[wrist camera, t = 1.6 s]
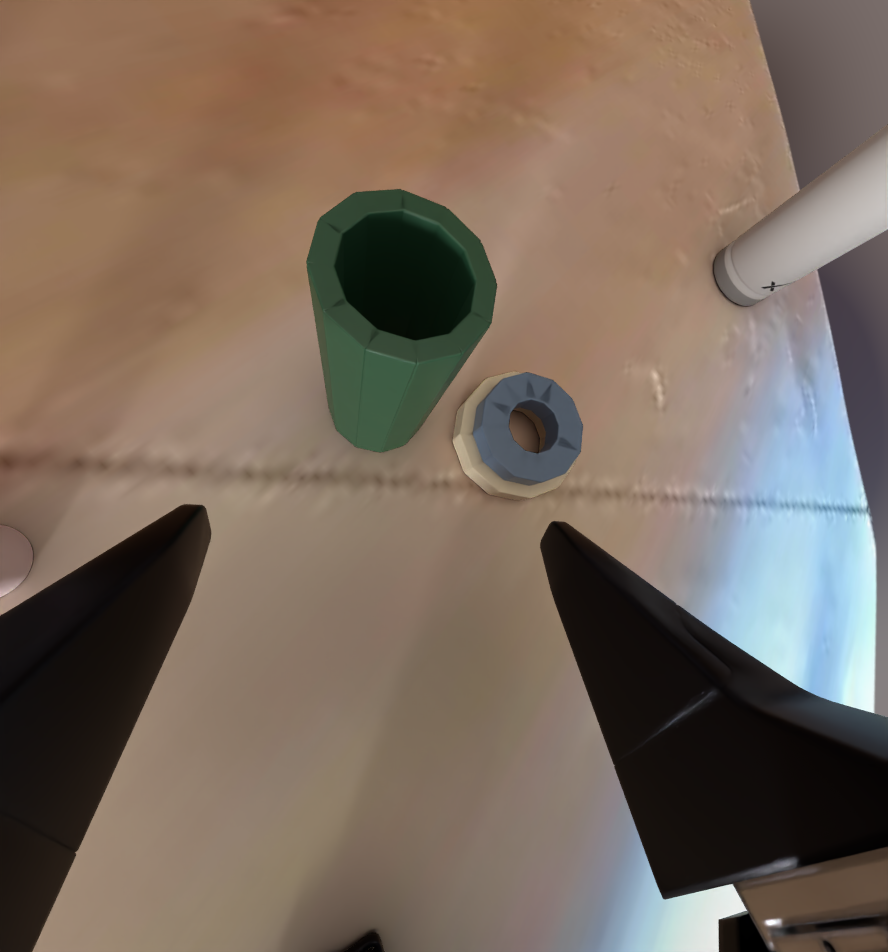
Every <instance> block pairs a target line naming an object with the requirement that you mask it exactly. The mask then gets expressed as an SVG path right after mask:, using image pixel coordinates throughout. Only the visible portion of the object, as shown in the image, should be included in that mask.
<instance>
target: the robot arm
mask: <svg viewBox="0 0 888 952" xmlns="http://www.w3.org/2000/svg"><path fill="white" fill-rule="evenodd" d="M210 540H211V528H210V523H209V519H208V515H207V510H206V508H205V507H204V506H203V505H192V504H184V505H181V506H179V507H178V508H176V509H174V510H173V511H171V512H170V513H168V514H166V515H165V516H163V517H161V518H160V519H158V520H156V521H155V522H153V523H152V524H150V525H148V526H147V527H145V528H143V529H142V530H140V531H138V532H137V533H135V534H134V535H132V536H130V537H129V538H127V539H125V540H124V541H122V542H120V543H119V544H117V545H116V546H114V547H112V548H111V549H109V550H107V551H106V552H104V553H102V554H101V555H99V556H98V557H96V558H94V559H93V560H91V561H89V562H88V563H86V564H84V565H83V566H81V567H80V568H78V569H76V570H75V571H73V572H71V573H70V574H68V575H66V576H65V577H63V578H62V579H60V580H58V581H57V582H55V583H53V584H52V585H50V586H48V587H47V588H45V589H44V590H42V591H40V592H39V593H37V594H35V595H34V596H32V597H30V598H29V599H27V600H26V601H24V602H22V603H21V604H19V605H17V606H16V607H14V608H12V609H11V610H9V611H8V612H6V613H4V614H3V615H1V616H0V952H32V951H33V949H34V947H35V944H36V942H37V940H38V938H39V936H40V933H41V931H42V929H43V927H44V925H45V922H46V920H47V918H48V916H49V914H50V911H51V909H52V907H53V905H54V903H55V900H56V898H57V896H58V894H59V892H60V889H61V887H62V885H63V883H64V881H65V878H66V876H67V874H68V872H69V870H70V867H71V865H72V863H73V861H74V859H75V856H76V853H75V852H76V851H77V850H78V849H79V847H80V845H81V843H82V840H83V838H84V836H85V834H86V832H87V829H88V827H89V825H90V823H91V821H92V818H93V816H94V814H95V812H96V810H97V807H98V805H99V803H100V801H101V799H102V796H103V794H104V792H105V790H106V788H107V785H108V783H109V781H110V779H111V777H112V774H113V772H114V770H115V768H116V766H117V763H118V761H119V759H120V757H121V755H122V752H123V750H124V748H125V746H126V744H127V741H128V739H129V737H130V735H131V733H132V730H133V728H134V726H135V724H136V722H137V719H138V717H139V715H140V713H141V711H142V708H143V706H144V704H145V702H146V700H147V697H148V695H149V693H150V691H151V689H152V686H153V684H154V682H155V680H156V678H157V675H158V673H159V671H160V669H161V667H162V664H163V662H164V660H165V658H166V656H167V653H168V651H169V649H170V647H171V645H172V642H173V640H174V638H175V636H176V634H177V631H178V629H179V627H180V625H181V623H182V620H183V618H184V616H185V614H186V612H187V609H188V607H189V605H190V602H191V600H192V597H193V594H194V591H195V588H196V585H197V582H198V578H199V575H200V572H201V569H202V566H203V562H204V559H205V556H206V553H207V550H208V546H209V543H210ZM540 548H541V552H542V556H543V560H544V564H545V568H546V572H547V576H548V580H549V584H550V588H551V592H552V595H553V598H554V601H555V604H556V607H557V610H558V612H559V615H560V618H561V621H562V623H563V626H564V629H565V632H566V634H567V637H568V640H569V643H570V646H571V648H572V651H573V654H574V657H575V659H576V662H577V665H578V668H579V670H580V673H581V676H582V679H583V681H584V684H585V687H586V690H587V692H588V695H589V698H590V701H591V703H592V706H593V709H594V712H595V714H596V717H597V720H598V723H599V725H600V728H601V731H602V734H603V737H604V739H605V742H606V745H607V748H608V750H609V753H610V756H611V759H612V761H613V764H614V765H615V766H614V767H615V770H616V773H617V776H618V778H619V781H620V784H621V787H622V789H623V792H624V795H625V798H626V800H627V803H628V806H629V809H630V811H631V814H632V817H633V820H634V822H635V825H636V828H637V831H638V834H639V836H640V839H641V842H642V845H643V847H644V850H645V853H646V856H647V858H648V861H649V864H650V867H651V869H652V872H653V875H654V878H655V880H656V883H657V886H658V888H659V891H660V893H661V895H662V897H663V899H669V898H673V897H678V896H682V895H686V894H690V893H695V892H699V891H703V890H707V889H712V888H716V887H720V886H724V885H729V884H733V886H734V887H735V889H736V891H737V893H738V895H739V897H740V898H741V900H742V902H743V904H744V906H745V908H746V910H747V911H744V912H741V913H738V914H735V915H732V916H729V917H726V918H723V919H719V952H888V717H885V716H881V715H878V714H874V713H871V712H867V711H864V710H860V709H857V708H853V707H849V706H846V705H842V704H839V703H836V702H832V701H829V700H827V699H824V698H821V697H819V696H816V695H814V694H812V693H810V692H808V691H806V690H804V689H802V688H800V687H798V686H797V685H795V684H793V683H792V682H790V681H789V680H787V679H786V678H784V677H783V676H781V675H780V674H778V673H776V672H775V671H773V670H772V669H770V668H769V667H767V666H766V665H764V664H763V663H761V662H760V661H758V660H757V659H755V658H754V657H752V656H751V655H749V654H748V653H746V652H745V651H743V650H742V649H740V648H739V647H737V646H736V645H734V644H733V643H731V642H730V641H728V640H727V639H725V638H724V637H722V636H721V635H720V634H718V633H717V632H715V631H714V630H712V629H711V628H709V627H708V626H707V625H705V624H704V623H702V622H701V621H700V620H698V619H697V618H695V617H694V616H693V615H691V614H690V613H689V612H687V611H686V610H684V609H683V608H682V607H680V606H679V605H676V603H675V602H674V601H672V600H671V599H669V598H668V597H667V596H665V595H664V594H663V593H661V592H660V591H659V590H657V589H656V588H654V587H653V586H652V585H650V584H649V583H648V582H646V581H645V580H644V579H642V578H641V577H640V576H638V575H637V574H635V573H634V572H633V571H631V570H630V569H629V568H627V567H626V566H625V565H623V564H622V563H621V562H619V561H618V560H616V559H615V558H614V557H612V556H611V555H610V554H608V553H607V552H606V551H604V550H603V549H601V548H600V547H599V546H597V545H596V544H595V543H593V542H592V541H591V540H589V539H588V538H587V537H585V536H584V535H582V534H581V533H580V532H578V531H577V530H576V529H574V528H573V527H572V526H570V525H569V524H568V523H566V522H559V521H553V522H551V523H550V524H549V526H548V528H547V530H546V532H545V534H544V536H543V537H542V540H541V543H540ZM371 947H374V948H373V949H372V950H368V949H369V948H371ZM345 952H385V951H384V948H383V945H382V942H381V939H380V937H379V935H378V934H376V933H370V934H368V935H367V936H365V937H364V938H363V939H361V940H360V941H358V942H357V943H356V944H354V945H353V946H351V947H350V948H349V949H347V950H346V951H345Z"/></svg>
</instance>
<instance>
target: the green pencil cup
mask: <svg viewBox="0 0 888 952" xmlns="http://www.w3.org/2000/svg"><path fill="white" fill-rule="evenodd" d="M480 242H481V241H480V239H479V238H478V237H477V236H476V235H475V234H474V233H473V232H472V231H471V230H469V229H468V228H467V227H466V226H465V225H464V224H463V223H462V222H461V221H460V220H459V219H458V218H457V217H456V216H455V215H454V214H453V213H452V212H451V211H450V210H449V209H446V207H445V206H442V205H440V204H437V203H435V202H432V201H430V200H427V199H425V198H422V197H420V196H417V195H415V194H412V193H410V192H407V191H405V190H401V189H395V190H380V191H365V192H355V193H353V194H352V195H350V196H349V197H348V198H346V199H345V200H343V201H342V202H341V203H339V204H338V205H337V206H335V207H334V208H332V209H331V210H330V211H328V212H327V213H326V214H324V215H323V216H321V217H320V219H319V220H318V222H317V226H316V229H315V233H314V236H313V240H312V244H311V247H310V251H309V254H308V258H307V261H306V263H307V272H308V278H309V284H310V291H311V297H312V304H313V310H314V316H315V323H316V329H317V336H318V342H319V348H320V355H321V361H322V368H323V374H324V380H325V387H326V393H327V400H328V406H329V410H330V413H331V416H332V419H333V421H334V424H335V427H336V429H337V431H338V432H339V433H340V434H341V435H343V436H344V437H345V438H346V439H347V440H348V441H350V442H351V443H352V444H353V445H354V446H355V447H358V448H363V449H367V450H372V451H376V452H385V451H388V450H391V449H395V448H398V447H401V446H404V445H405V444H406V443H407V442H408V441H409V440H410V439H411V438H412V437H413V436H414V434H415V433H416V432H417V431H418V430H419V429H420V427H421V426H422V424H423V423H424V421H425V420H426V418H427V417H428V416H429V414H430V413H431V411H432V410H433V408H434V407H435V405H436V404H437V402H438V401H439V400H440V398H441V397H442V395H443V394H444V392H445V391H446V389H447V388H448V386H449V385H450V384H451V382H452V381H453V379H454V378H455V376H456V375H457V373H458V372H459V370H460V369H461V368H462V366H463V365H464V363H465V362H466V360H467V359H468V357H469V356H470V354H471V353H472V351H473V350H474V349H475V347H476V346H477V344H478V343H479V341H480V340H481V338H482V337H483V335H484V334H485V333H486V331H487V330H488V328H489V326H490V324H491V323H492V316H493V310H494V303H495V296H496V290H497V283H496V279H495V276H494V274H493V271H492V268H491V266H490V263H489V261H488V258H487V255H486V253H485V250H484V247H483V245H482V243H480Z"/></svg>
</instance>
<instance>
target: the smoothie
mask: <svg viewBox="0 0 888 952" xmlns="http://www.w3.org/2000/svg"><path fill="white" fill-rule="evenodd" d="M32 562H33V551H32V547H31V544H30V542H29V541H28V539H27V538H26V537H25V536H24V535H23V534H22V533H20V532H19V531H17V530H16V529H14V528H11V527H8V526H5V525H0V597H2V596H4V595H6V594H7V593H9V592H11V591H12V590H14V589H15V588H16V587H17V586H18V585H20V584H21V583H22V581H23V580H24V579H25V578H26V576H27V575H28V573H29V571H30V569H31V566H32Z"/></svg>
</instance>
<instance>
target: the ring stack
mask: <svg viewBox="0 0 888 952" xmlns="http://www.w3.org/2000/svg"><path fill="white" fill-rule="evenodd" d="M513 410H517V411H520V412H523V413H524V414H525V415H526V416H527V417H528V418H529V419H530V420H531V421H532V422H534V424H535V427H536V429H537V432H538V434H539V437H540V445H539V453H533V452H529V451H525V450H524V449H523V448H522V447H521V446H520V445H518V444H517V443H516V442H515V441H514V440H513V437H512V434H511V432H510V429H509V420H510V413H511V412H512V411H513ZM582 431H583V424H582V422H581V419H580V417H579V414H578V411H577V409H576V406H575V404H574V401H573V400H572V398H571V397H570V396H569V395H568V394H567V393H566V392H565V391H564V390H563V389H562V388H561V387H560V386H559V385H558V384H557V383H556V382H554V381H553V380H551V379H548V378H545V377H541V376H538V375H535V374H532V373H528V372H526V373H520V372H517V371H513V372H509V373H505V374H501V375H497V376H493V377H489V378H486V379H484V380H483V382H482V383H481V384H480V385H479V386H478V387H477V388H476V389H475V391H474V392H473V393H472V394H471V395H470V396H469V397H468V399H467V400H466V401H465V402H464V403H463V404H462V405H461V406H460V408H459V409H458V410H457V415H456V421H455V428H454V434H453V440H452V441H453V444H454V447H455V450H456V452H457V455H458V458H459V461H460V463H461V466H462V469H463V471H464V473H465V474H466V475H467V476H468V477H470V478H471V479H472V480H473V481H474V482H475V483H476V484H477V485H478V486H480V487H481V488H482V489H483V490H484V491H485V492H486V493H487V494H489V495H493V496H498V497H503V498H508V499H512V500H517V501H518V500H524V499H530V498H533V497H536V496H538V495H541V494H543V493H546V492H548V491H551V490H553V489H556V488H558V487H559V486H560V484H561V483H562V481H563V480H564V479H565V477H566V476H567V474H568V473H569V471H570V470H571V469H572V467H573V466H574V464H575V462H576V458H577V457H578V455H579V454H580V452H581V443H582Z"/></svg>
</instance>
